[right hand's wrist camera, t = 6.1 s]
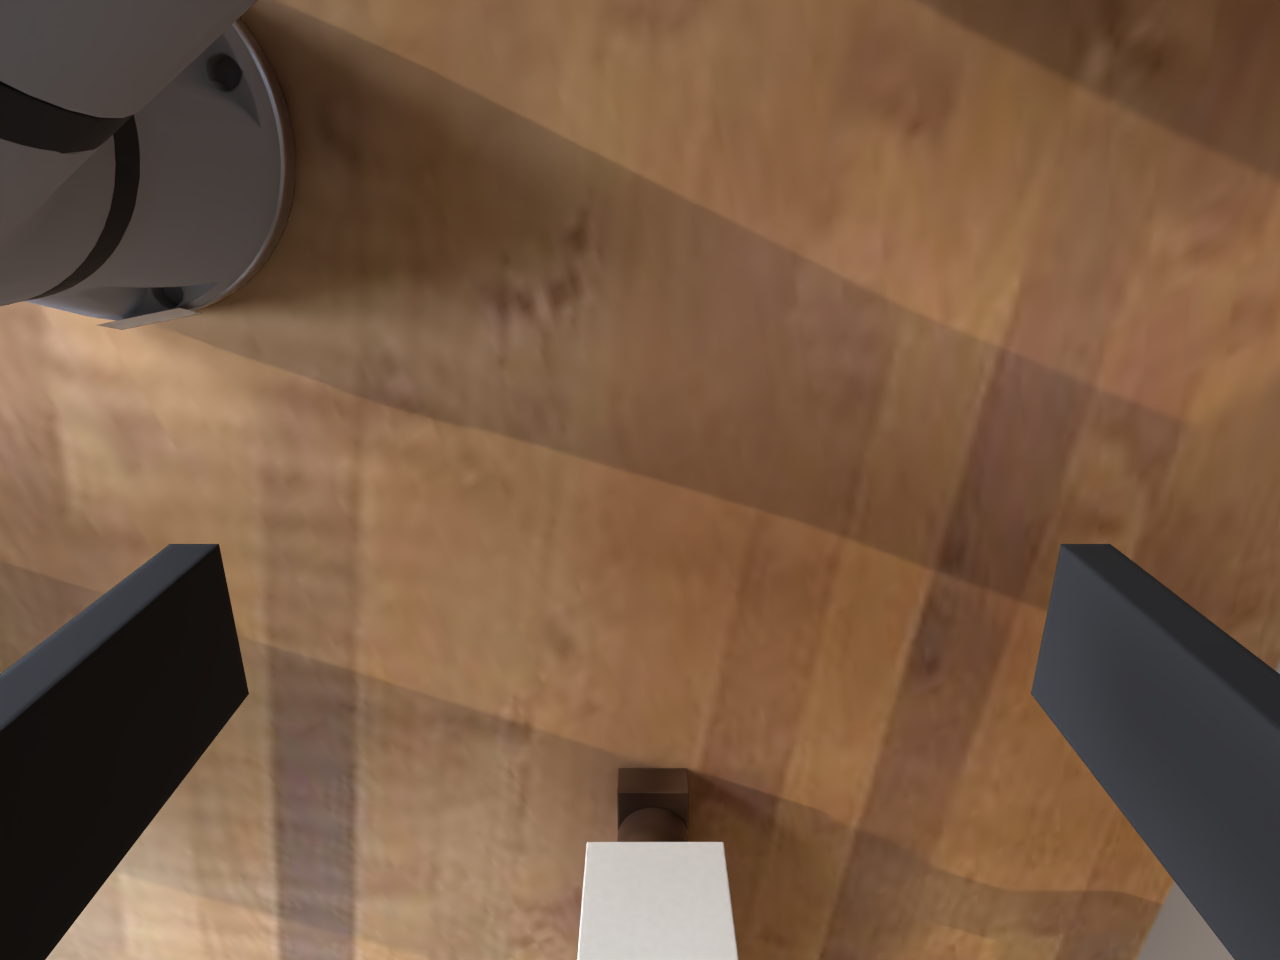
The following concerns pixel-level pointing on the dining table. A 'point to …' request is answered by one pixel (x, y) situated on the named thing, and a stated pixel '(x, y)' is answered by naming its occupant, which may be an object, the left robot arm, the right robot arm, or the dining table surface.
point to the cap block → (656, 902)
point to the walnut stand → (653, 805)
